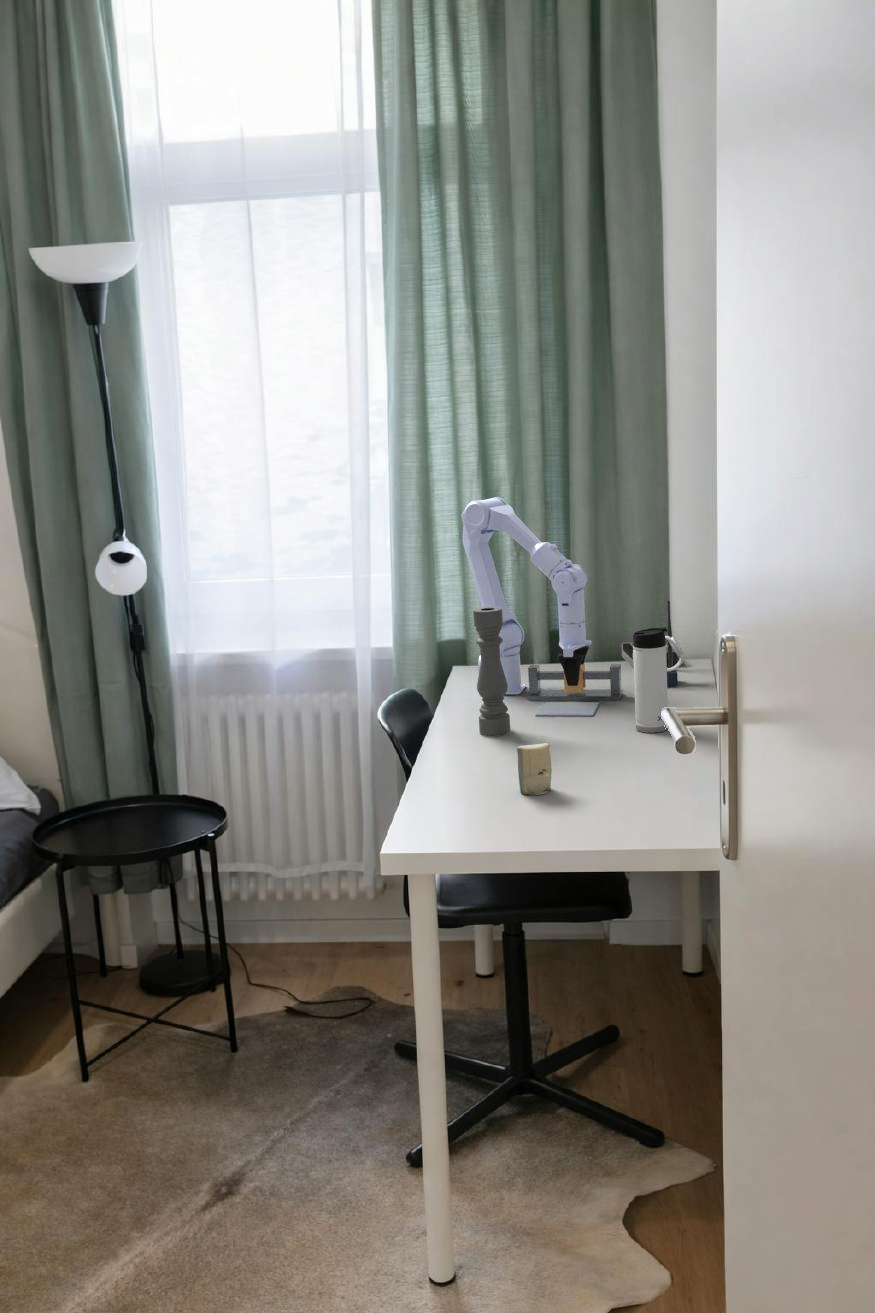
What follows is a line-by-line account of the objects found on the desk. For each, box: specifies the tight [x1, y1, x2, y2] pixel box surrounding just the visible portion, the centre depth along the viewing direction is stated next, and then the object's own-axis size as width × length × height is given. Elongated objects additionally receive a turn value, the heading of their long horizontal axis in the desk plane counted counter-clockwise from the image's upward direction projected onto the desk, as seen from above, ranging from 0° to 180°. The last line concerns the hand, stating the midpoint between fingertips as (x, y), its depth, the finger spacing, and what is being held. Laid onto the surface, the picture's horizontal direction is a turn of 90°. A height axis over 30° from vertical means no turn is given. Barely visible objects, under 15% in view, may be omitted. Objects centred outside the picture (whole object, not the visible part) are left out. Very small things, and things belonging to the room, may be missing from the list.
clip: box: [563, 663, 586, 692], centre depth 247 cm, size 4×4×5 cm
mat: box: [535, 701, 600, 717], centre depth 238 cm, size 12×10×1 cm
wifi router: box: [620, 600, 679, 670], centre depth 275 cm, size 20×14×17 cm
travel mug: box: [632, 626, 669, 734], centre depth 217 cm, size 6×7×20 cm
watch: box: [665, 635, 685, 688], centre depth 253 cm, size 6×8×11 cm
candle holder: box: [472, 606, 511, 737], centre depth 223 cm, size 6×6×25 cm
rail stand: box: [527, 663, 623, 702], centre depth 247 cm, size 20×6×7 cm, turn 74°
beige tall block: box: [516, 742, 553, 796], centre depth 187 cm, size 6×5×8 cm
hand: (574, 682), depth 247 cm, fingers open, 5 cm apart
